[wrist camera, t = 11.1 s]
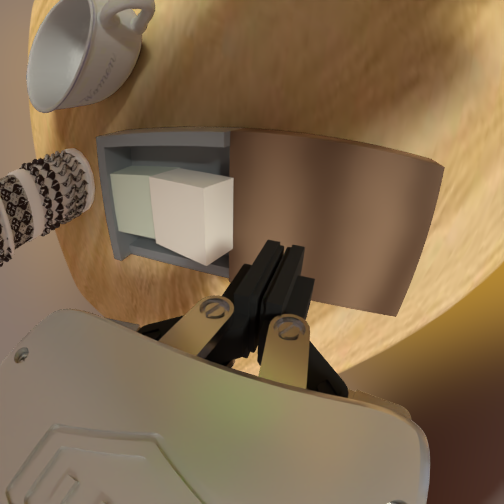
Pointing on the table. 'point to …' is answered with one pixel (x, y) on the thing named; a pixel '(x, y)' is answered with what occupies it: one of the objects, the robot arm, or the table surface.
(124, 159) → the box
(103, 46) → the teacup
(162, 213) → the white tile
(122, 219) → the sage tile
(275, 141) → the walnut wavy ramp
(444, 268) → the table surface
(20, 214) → the decorative candle
